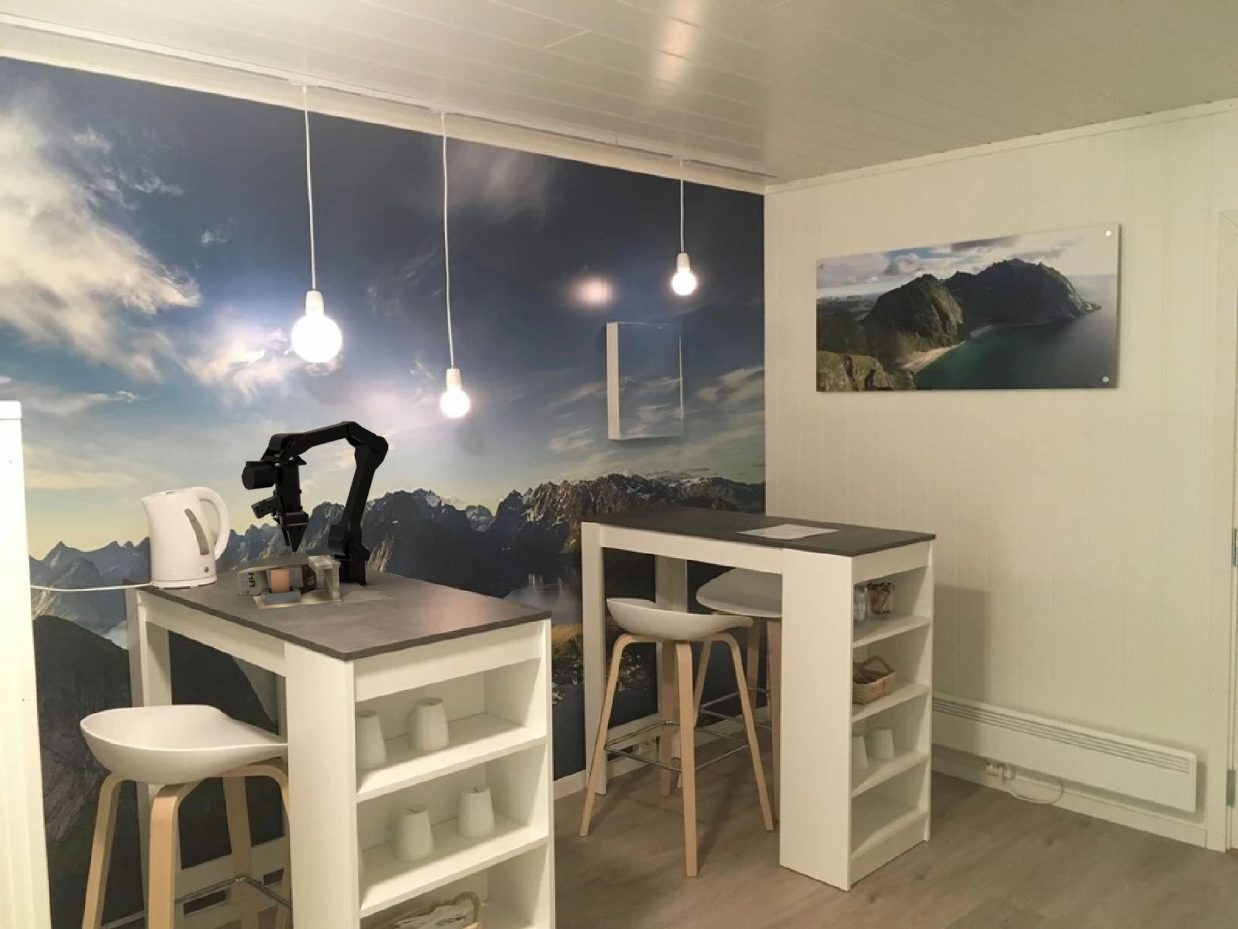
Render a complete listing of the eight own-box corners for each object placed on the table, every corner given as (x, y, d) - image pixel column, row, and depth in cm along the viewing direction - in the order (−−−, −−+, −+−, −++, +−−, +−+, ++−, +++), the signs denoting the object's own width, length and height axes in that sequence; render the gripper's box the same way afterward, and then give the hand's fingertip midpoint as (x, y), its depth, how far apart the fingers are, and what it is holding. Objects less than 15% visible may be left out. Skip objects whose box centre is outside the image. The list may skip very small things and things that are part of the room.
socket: (296, 595, 235) (295, 585, 235) (301, 601, 228) (300, 591, 228) (261, 598, 232) (260, 588, 231) (265, 605, 224) (264, 594, 224)
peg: (271, 599, 231) (269, 570, 230) (288, 597, 232) (287, 568, 232) (273, 603, 227) (271, 573, 226) (291, 601, 229) (289, 571, 228)
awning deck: (330, 592, 242) (328, 554, 241) (341, 605, 229) (339, 564, 228) (253, 600, 234) (251, 561, 233) (260, 613, 221) (258, 572, 220)
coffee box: (239, 598, 236) (304, 593, 235) (236, 572, 236) (301, 566, 235) (255, 591, 245) (317, 586, 244) (252, 566, 245) (315, 560, 244)
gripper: (247, 484, 241) (251, 546, 243) (257, 492, 224) (262, 559, 226) (294, 480, 246) (297, 541, 248) (307, 488, 230) (311, 553, 231)
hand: (291, 548), depth 238 cm, fingers open, 9 cm apart
